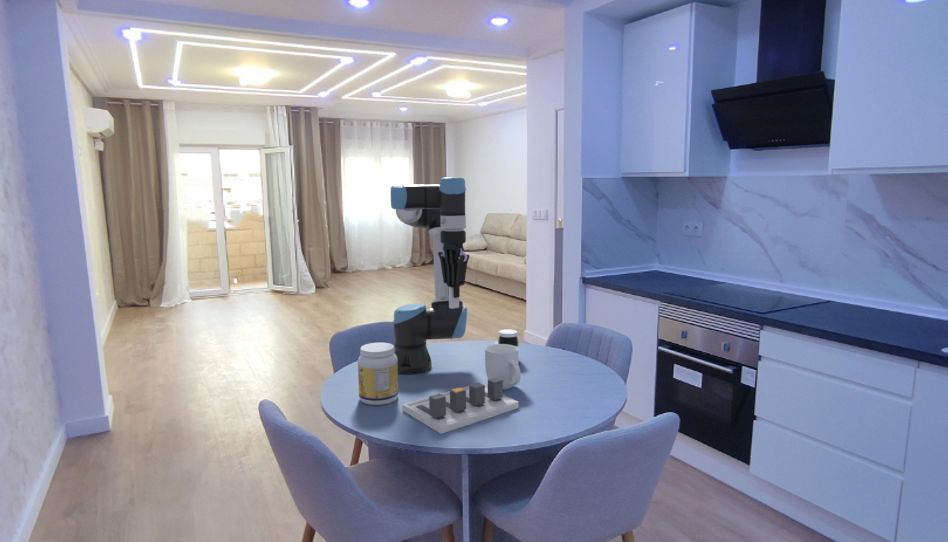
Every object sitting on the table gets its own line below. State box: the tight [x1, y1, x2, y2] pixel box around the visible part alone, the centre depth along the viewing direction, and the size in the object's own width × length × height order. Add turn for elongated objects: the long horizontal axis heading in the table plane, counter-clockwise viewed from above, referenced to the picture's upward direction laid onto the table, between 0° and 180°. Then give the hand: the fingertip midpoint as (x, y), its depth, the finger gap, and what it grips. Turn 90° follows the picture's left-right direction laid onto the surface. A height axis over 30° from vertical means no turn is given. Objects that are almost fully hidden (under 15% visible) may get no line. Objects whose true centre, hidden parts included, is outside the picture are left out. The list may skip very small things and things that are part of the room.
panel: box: [402, 385, 519, 435], centre depth 163 cm, size 20×28×2 cm
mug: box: [484, 343, 522, 391], centre depth 180 cm, size 15×11×13 cm
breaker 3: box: [468, 382, 486, 406], centre depth 162 cm, size 3×4×6 cm
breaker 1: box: [429, 392, 446, 418], centre depth 153 cm, size 3×4×6 cm
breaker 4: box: [487, 377, 504, 400], centre depth 166 cm, size 3×4×6 cm
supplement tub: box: [357, 342, 399, 406], centre depth 171 cm, size 12×12×17 cm
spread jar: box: [492, 329, 519, 349], centre depth 210 cm, size 12×11×12 cm
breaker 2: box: [449, 387, 466, 412], centre depth 157 cm, size 3×4×6 cm
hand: (454, 307), depth 167 cm, fingers closed
